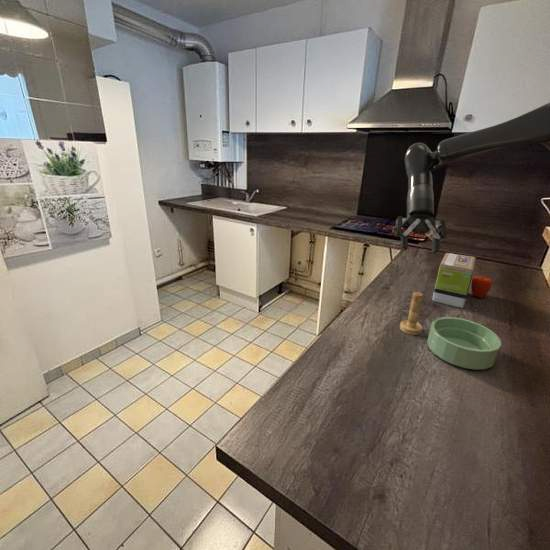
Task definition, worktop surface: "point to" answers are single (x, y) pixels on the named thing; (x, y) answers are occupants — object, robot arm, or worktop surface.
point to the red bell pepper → (480, 286)
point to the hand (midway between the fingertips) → (419, 251)
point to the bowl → (463, 343)
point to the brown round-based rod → (413, 316)
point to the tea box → (454, 279)
